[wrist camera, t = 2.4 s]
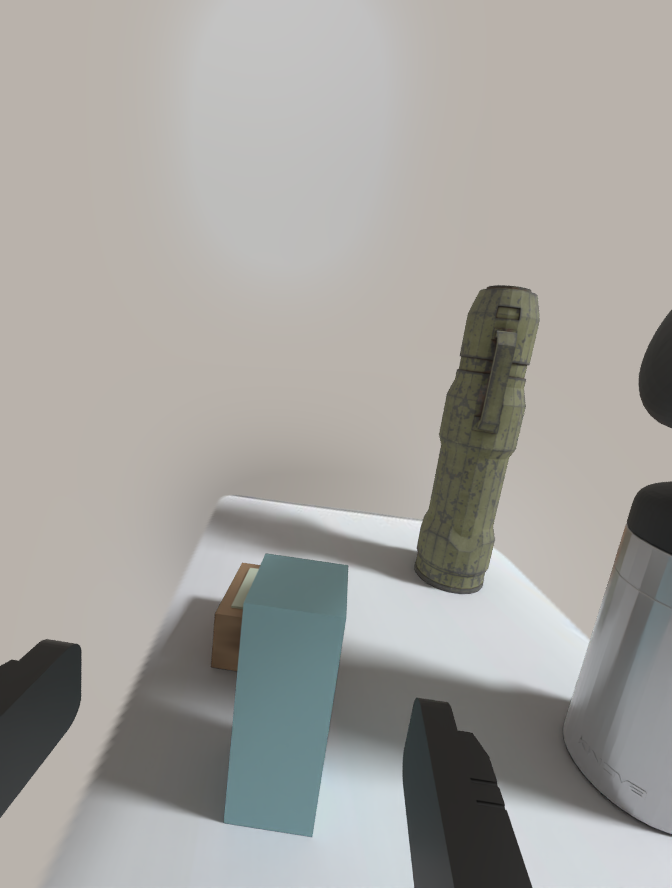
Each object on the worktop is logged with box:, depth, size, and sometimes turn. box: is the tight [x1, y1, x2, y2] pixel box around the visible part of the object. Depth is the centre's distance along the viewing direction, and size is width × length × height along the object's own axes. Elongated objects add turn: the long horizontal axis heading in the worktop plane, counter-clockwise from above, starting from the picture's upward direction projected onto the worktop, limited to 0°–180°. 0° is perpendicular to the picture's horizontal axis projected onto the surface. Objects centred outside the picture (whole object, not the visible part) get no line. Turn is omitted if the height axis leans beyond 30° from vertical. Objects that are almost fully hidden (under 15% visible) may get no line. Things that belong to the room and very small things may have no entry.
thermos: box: [415, 285, 539, 594], centre depth 50 cm, size 9×12×35 cm
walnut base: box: [211, 563, 260, 671], centre depth 37 cm, size 8×8×5 cm
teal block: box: [224, 554, 348, 837], centre depth 24 cm, size 5×5×14 cm
